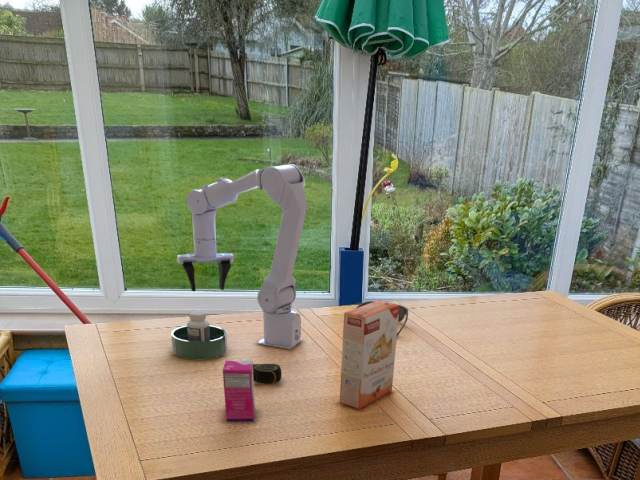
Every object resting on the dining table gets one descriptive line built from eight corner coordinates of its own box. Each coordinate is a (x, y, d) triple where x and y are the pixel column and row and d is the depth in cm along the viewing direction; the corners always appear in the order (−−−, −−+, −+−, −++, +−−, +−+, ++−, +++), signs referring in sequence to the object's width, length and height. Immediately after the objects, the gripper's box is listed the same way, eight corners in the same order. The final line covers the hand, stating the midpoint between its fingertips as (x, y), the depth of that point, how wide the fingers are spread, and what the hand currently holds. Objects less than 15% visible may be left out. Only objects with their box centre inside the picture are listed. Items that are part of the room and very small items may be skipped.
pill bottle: (204, 345, 188) (202, 308, 183) (214, 351, 184) (212, 313, 179) (185, 348, 184) (182, 311, 180) (194, 355, 181) (192, 316, 176)
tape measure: (280, 376, 174) (280, 361, 172) (282, 387, 168) (282, 372, 166) (251, 376, 172) (251, 361, 171) (252, 387, 167) (251, 372, 165)
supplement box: (227, 410, 155) (225, 359, 150) (255, 410, 156) (254, 359, 150) (224, 421, 150) (222, 369, 145) (253, 422, 151) (252, 370, 145)
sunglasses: (411, 321, 218) (412, 305, 215) (399, 344, 204) (400, 328, 201) (358, 314, 220) (358, 299, 218) (343, 337, 207) (343, 320, 204)
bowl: (236, 348, 189) (235, 329, 186) (210, 364, 177) (209, 345, 175) (190, 340, 192) (189, 321, 189) (162, 356, 180) (160, 336, 178)
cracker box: (361, 411, 159) (366, 317, 149) (338, 403, 162) (341, 311, 151) (394, 392, 170) (400, 303, 159) (372, 385, 172) (377, 298, 162)
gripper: (228, 234, 197) (230, 284, 203) (173, 235, 191) (177, 287, 198) (235, 239, 191) (236, 291, 198) (178, 241, 185) (182, 294, 192)
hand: (207, 289), depth 197 cm, fingers open, 7 cm apart
